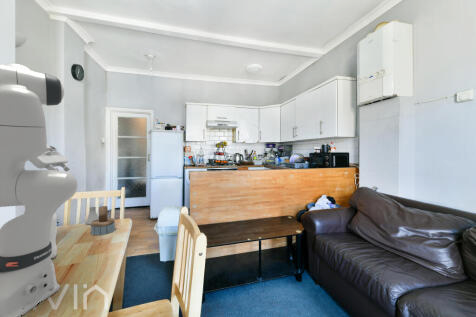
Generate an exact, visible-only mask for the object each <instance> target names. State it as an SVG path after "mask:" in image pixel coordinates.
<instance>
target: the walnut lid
mask: <svg viewBox="0 0 476 317" xmlns="http://www.w3.org/2000/svg"><path fill="white" fill-rule="evenodd" d="M98 218H99V219H97V220H94V221H92V222H91V225H90V227H91V226H93V227H103V226H108V225H111V224H113V223H114V222H115V223H116V220H115V218H113V217H108V205H103V206H99V207H98Z"/></svg>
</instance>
